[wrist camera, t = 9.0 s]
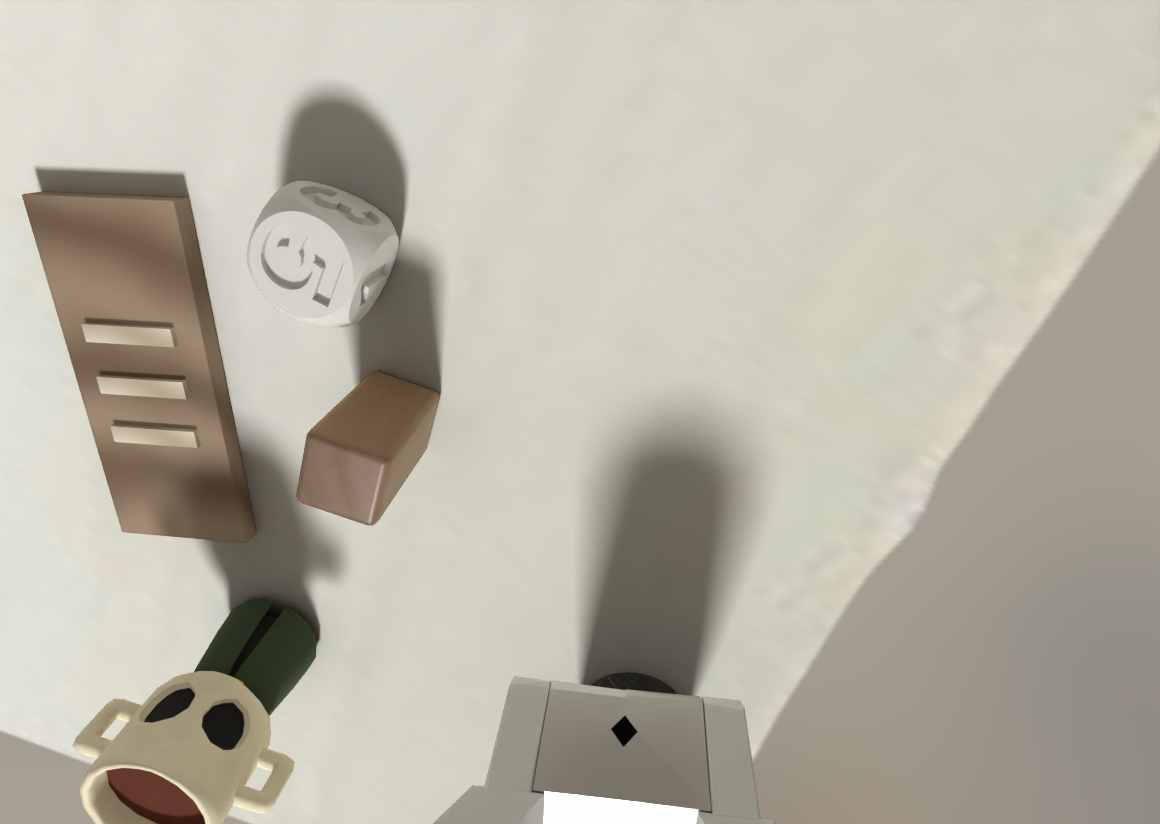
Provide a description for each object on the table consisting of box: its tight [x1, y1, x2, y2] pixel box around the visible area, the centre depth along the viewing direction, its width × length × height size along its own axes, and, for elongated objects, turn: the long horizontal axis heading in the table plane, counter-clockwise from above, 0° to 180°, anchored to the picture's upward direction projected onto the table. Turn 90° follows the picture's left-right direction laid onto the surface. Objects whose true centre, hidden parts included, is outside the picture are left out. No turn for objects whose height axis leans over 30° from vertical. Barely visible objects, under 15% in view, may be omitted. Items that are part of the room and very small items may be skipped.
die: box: [247, 181, 399, 327], centre depth 33 cm, size 5×5×5 cm
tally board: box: [22, 192, 256, 543], centre depth 39 cm, size 20×8×2 cm, turn 178°
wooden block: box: [296, 371, 439, 525], centre depth 35 cm, size 4×4×8 cm
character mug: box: [73, 600, 317, 824], centre depth 41 cm, size 11×7×13 cm, turn 70°
